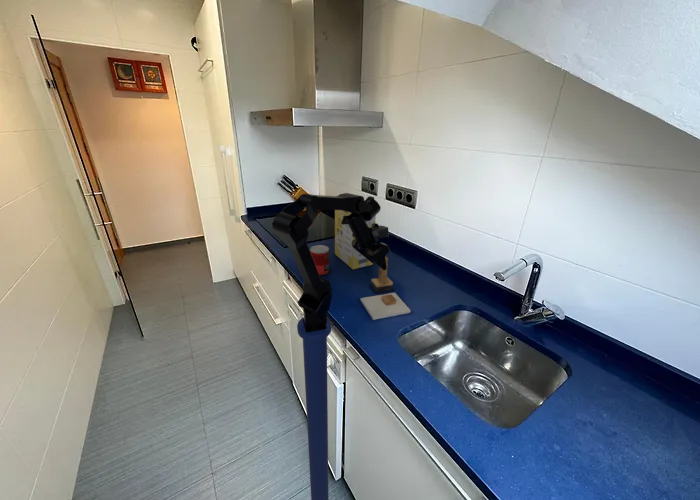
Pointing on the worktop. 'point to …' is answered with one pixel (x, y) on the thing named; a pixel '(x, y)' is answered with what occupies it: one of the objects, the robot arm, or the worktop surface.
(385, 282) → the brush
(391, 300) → the cork chip
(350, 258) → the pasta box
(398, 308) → the tile
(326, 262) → the canned food
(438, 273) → the worktop surface
